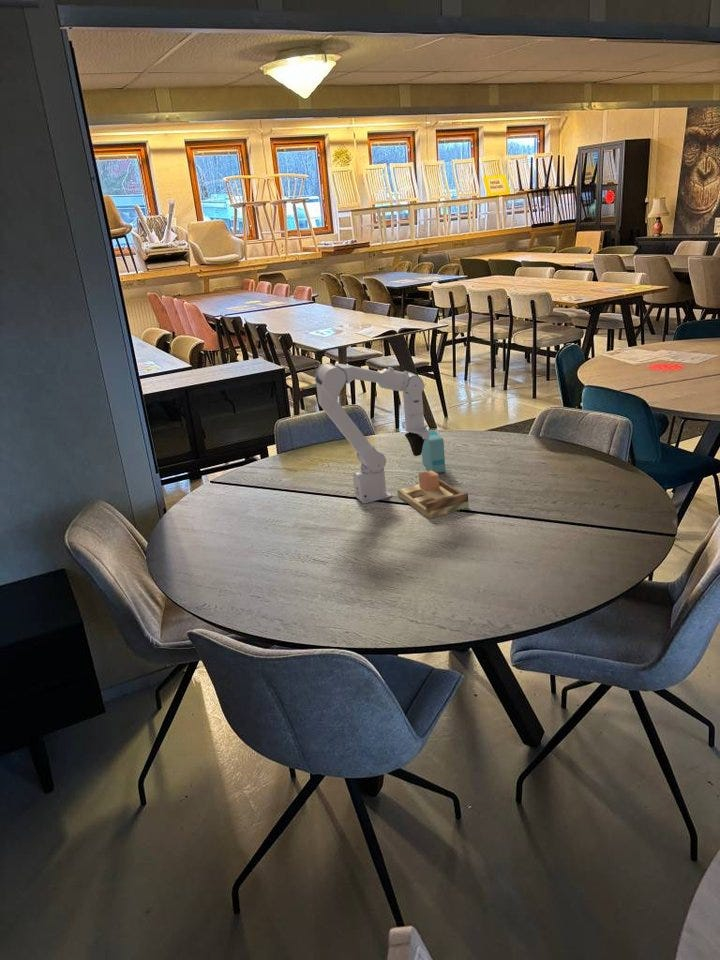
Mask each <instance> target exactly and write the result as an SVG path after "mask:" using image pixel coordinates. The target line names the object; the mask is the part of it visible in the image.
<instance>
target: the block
mask: <svg viewBox="0 0 720 960" xmlns="http://www.w3.org/2000/svg"><path fill="white" fill-rule="evenodd" d="M439 474H440V473H435V472H434V471H432V470H431V471H429V470H426V471H423V472H420V473H418V481H419V482H418V484H419V486H420V488H422V489H423V490H424V491H426V492H428V491H432V490H436V489H439V488H440V486H439V479H440V475H439Z"/></svg>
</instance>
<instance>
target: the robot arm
mask: <svg viewBox="0 0 720 960" xmlns="http://www.w3.org/2000/svg"><path fill="white" fill-rule="evenodd" d="M354 380H356V381H364V382H372V383H377V384H378V386H379V388H381V389H385V390H391V391H396V392H402V396H403V397H402V398H403V399H402V400H403V411H404V421H401V426H402V427H401V428H402V429H404V430H405V431H406V433H405V434H404V436H405V438H406V439H407V441H408V444H409V445H410V448H411V451H412V455H413V456H414V457H418V456H422V448H423V443H424V440H425V439H427V438H429V432H428V431H429V430H428V429H427V428H428V426H429V425H428V424H427V423H425V418H424V417H425V416H424V403H423V401H424V400H423V391H424V389H425V385H426V384H425V383H424V380H423V379H422V377H421V376H419V375H418V374H415V373H413V372H410V371H407V370H404V371H399V370H396V369H394V368H393V367H390V366H388V367H387V368H383V369H381V370H380V371H376V370H371V369H367V368H363V367H359V366H354V365H350V364H344V363H334V364H333V363H330V362H324V363H322V364H320V365H319V366H318V368H317V369H316V373H315V376H314V382H315V385H316V392H317V393H316V394H317V401H318V404H319V406H320V407H321V409H323V411H324V412H325V413H326V415H327V416H328V417H329V419H330V420H331V421H332V422H333V423H334V425H335V427H336V428H337V429H338V430H339V431H340V432H341V434H342V435H343V436H344V437H345V439H346V440H347V442H348V443H349V444H350V445H351V446H352V448H353V451H355V453H356V457H357V460H358V461H359V462H360V463H361V465H360V470H358V471H357V472H354V473H353V475H352V480H353V488H354V490H353V491H354V494H353V496H354V497H355V498H357V499H358V501H360V502H361V503H362V504H367V503H372V502H376V501H380V500H384V499H387V498H391V497H392V494H391V493H389V492H388V491H387V485H386V484H387V483H386V474H385V472H386V471H385V467H386V463H387V459H386V458H387V457H386V456H385V454H383V453H382V452H380V451H379V450H378V449H377V448H375V446H373V444H372V443H370V442H369V440H368V439H367V437H366V436H365V434H363V433H362V431H361V430H360V429H359V427H358V426H357V425H356V424H355V422H354V421H353V419H351V417H350V416H349V415H348V414H347V413H348V412H346V411H345V409H344V408H343V407H342V406H341V404H340V403H339V402H338V399H339V395H340V394H341V391H342V389H343V388H344V386H345V384H350V383H351V382H353V381H354Z"/></svg>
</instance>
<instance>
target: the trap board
mask: <svg viewBox="0 0 720 960" xmlns="http://www.w3.org/2000/svg"><path fill="white" fill-rule="evenodd" d="M439 486H440V488H439V489H436V490H432V491H428V492H426V491H424V490H423V489H422V488H420V486H419V483H418V484H414V485H410V486H407V487H403V488H398V489H397V496H398V497H399V498H400V499H402V500H403V501H404V502H406V504H408V505H410V506H411V507H412V508H413V509H415V510H416V511H417V512H419V513H420V514H421V515H423V516H424V517H426V518H427V519H433V518H436V517H438V516H443V515H447V514H451V513H454V511H455V512H457V510H458V511H461V510H460V509H462V510H464V508H466V509H468V507H469V493H468V492H466V491H464V492H462V491H460V490H458V488H455V487H453V486H452V485H450V484H449V483H447V482H446V481H444V480H443V479H441V478H439Z"/></svg>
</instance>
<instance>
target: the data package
mask: <svg viewBox="0 0 720 960" xmlns="http://www.w3.org/2000/svg"><path fill="white" fill-rule="evenodd" d="M427 431H428V432H429V438H427V439H425V440H424V443H423V448H422V453H421V459H422V464H423V466H424V467H425V468H426V469H427V471H431V470H432V471H434V472H435V473H437V474H442V473H445V472H446V460H445V457H446V456H445V442H444V441H445V440H444V438H443V437H442V436H441V435H440V434H439V433H438V432H437V431H436V430H435V429H430V430H427Z"/></svg>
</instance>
